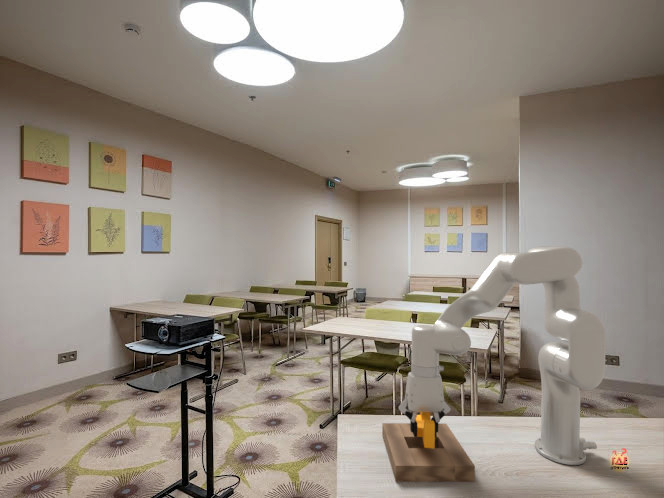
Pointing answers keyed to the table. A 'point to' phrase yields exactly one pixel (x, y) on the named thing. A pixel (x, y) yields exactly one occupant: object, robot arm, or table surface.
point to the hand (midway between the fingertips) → (424, 433)
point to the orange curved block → (426, 429)
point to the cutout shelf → (426, 456)
